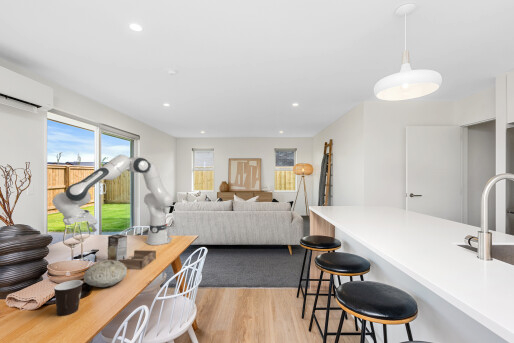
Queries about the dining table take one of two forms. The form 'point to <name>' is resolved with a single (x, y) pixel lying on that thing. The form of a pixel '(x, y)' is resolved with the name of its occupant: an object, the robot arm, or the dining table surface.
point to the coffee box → (117, 247)
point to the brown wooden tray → (139, 264)
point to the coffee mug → (67, 297)
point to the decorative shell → (105, 273)
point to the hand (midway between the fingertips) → (90, 232)
